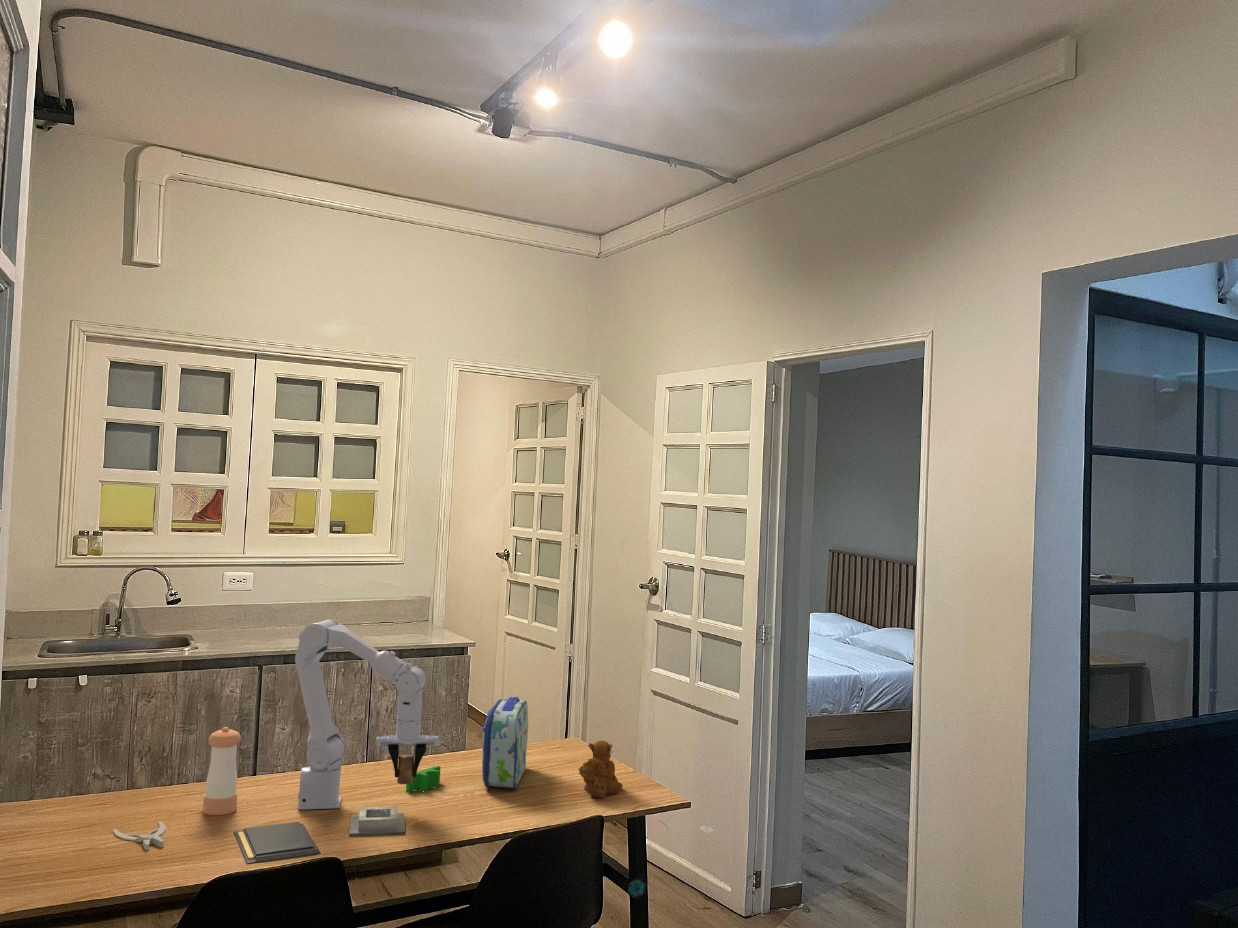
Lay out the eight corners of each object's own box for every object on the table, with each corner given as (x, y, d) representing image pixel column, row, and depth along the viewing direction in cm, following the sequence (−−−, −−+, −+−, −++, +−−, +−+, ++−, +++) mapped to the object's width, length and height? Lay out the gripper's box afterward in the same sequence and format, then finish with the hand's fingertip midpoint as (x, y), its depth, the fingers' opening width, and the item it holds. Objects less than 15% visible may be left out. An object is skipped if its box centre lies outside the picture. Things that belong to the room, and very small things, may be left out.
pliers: (161, 816, 201) (180, 837, 189) (161, 824, 201) (180, 845, 189) (112, 825, 194) (128, 847, 183) (111, 832, 194) (128, 855, 183)
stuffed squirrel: (623, 788, 243) (626, 738, 243) (610, 804, 229) (612, 751, 230) (588, 783, 245) (591, 734, 246) (572, 798, 232) (575, 747, 232)
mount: (349, 836, 198) (350, 823, 198) (351, 817, 210) (352, 805, 210) (404, 833, 201) (405, 821, 201) (404, 815, 213) (404, 803, 213)
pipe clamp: (416, 796, 228) (417, 777, 228) (405, 793, 230) (406, 774, 230) (447, 785, 238) (447, 767, 238) (436, 782, 240) (437, 765, 240)
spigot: (397, 784, 214) (399, 758, 214) (397, 779, 218) (398, 754, 218) (412, 783, 215) (414, 758, 215) (412, 779, 219) (413, 754, 219)
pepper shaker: (195, 810, 209) (201, 727, 210) (222, 802, 215) (228, 721, 216) (216, 817, 205) (222, 732, 206) (243, 808, 212) (249, 726, 213)
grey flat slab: (321, 848, 188) (243, 858, 180) (321, 857, 188) (242, 868, 180) (305, 817, 205) (233, 825, 198) (304, 825, 205) (232, 834, 198)
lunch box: (491, 763, 259) (495, 690, 260) (528, 765, 259) (532, 692, 260) (476, 792, 233) (480, 710, 234) (517, 794, 233) (522, 713, 234)
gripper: (377, 723, 211) (374, 781, 211) (440, 722, 215) (436, 779, 214) (377, 715, 218) (374, 772, 217) (438, 715, 222) (435, 771, 221)
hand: (405, 775), depth 216 cm, fingers closed on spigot, 4 cm apart
